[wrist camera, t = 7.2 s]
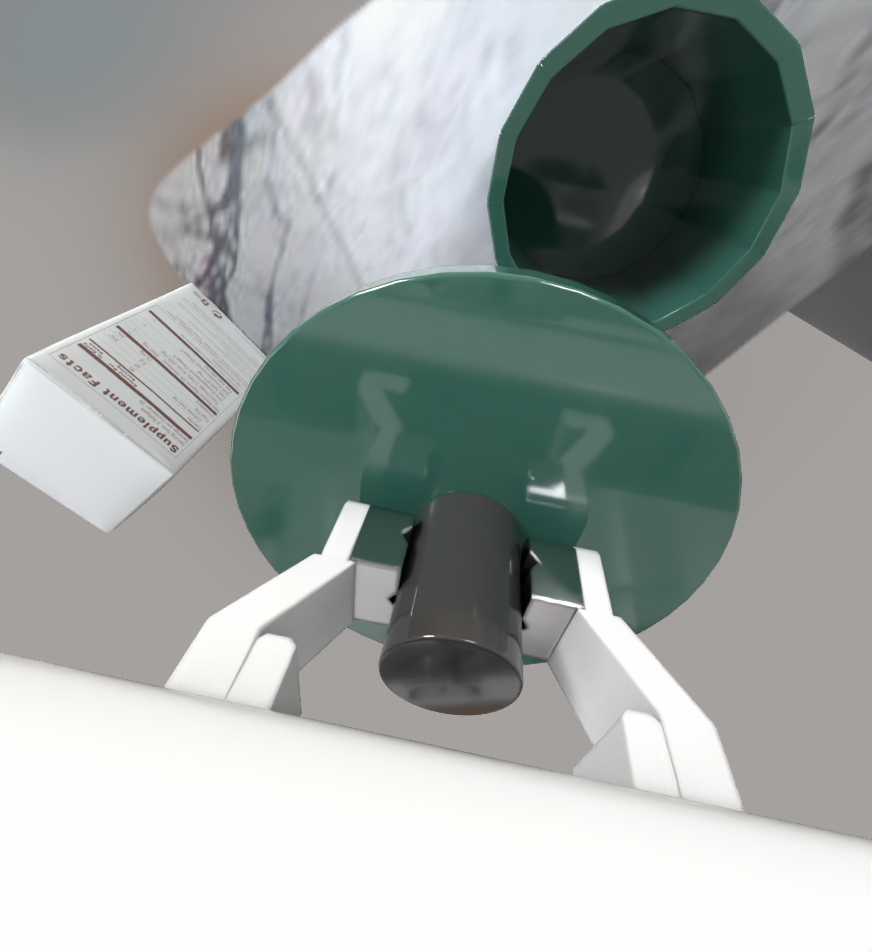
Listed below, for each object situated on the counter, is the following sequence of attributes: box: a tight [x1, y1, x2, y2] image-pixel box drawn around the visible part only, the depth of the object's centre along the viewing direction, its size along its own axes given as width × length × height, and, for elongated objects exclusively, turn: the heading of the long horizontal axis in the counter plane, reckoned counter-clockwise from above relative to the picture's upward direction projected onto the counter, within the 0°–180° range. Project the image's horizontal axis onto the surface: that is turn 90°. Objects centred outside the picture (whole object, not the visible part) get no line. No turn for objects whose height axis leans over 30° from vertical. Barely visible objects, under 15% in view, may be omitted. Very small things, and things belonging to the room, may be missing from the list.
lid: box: [230, 265, 742, 715], centre depth 9 cm, size 11×11×5 cm
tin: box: [487, 0, 814, 332], centre depth 19 cm, size 10×10×8 cm
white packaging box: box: [0, 283, 266, 533], centre depth 26 cm, size 7×7×13 cm
